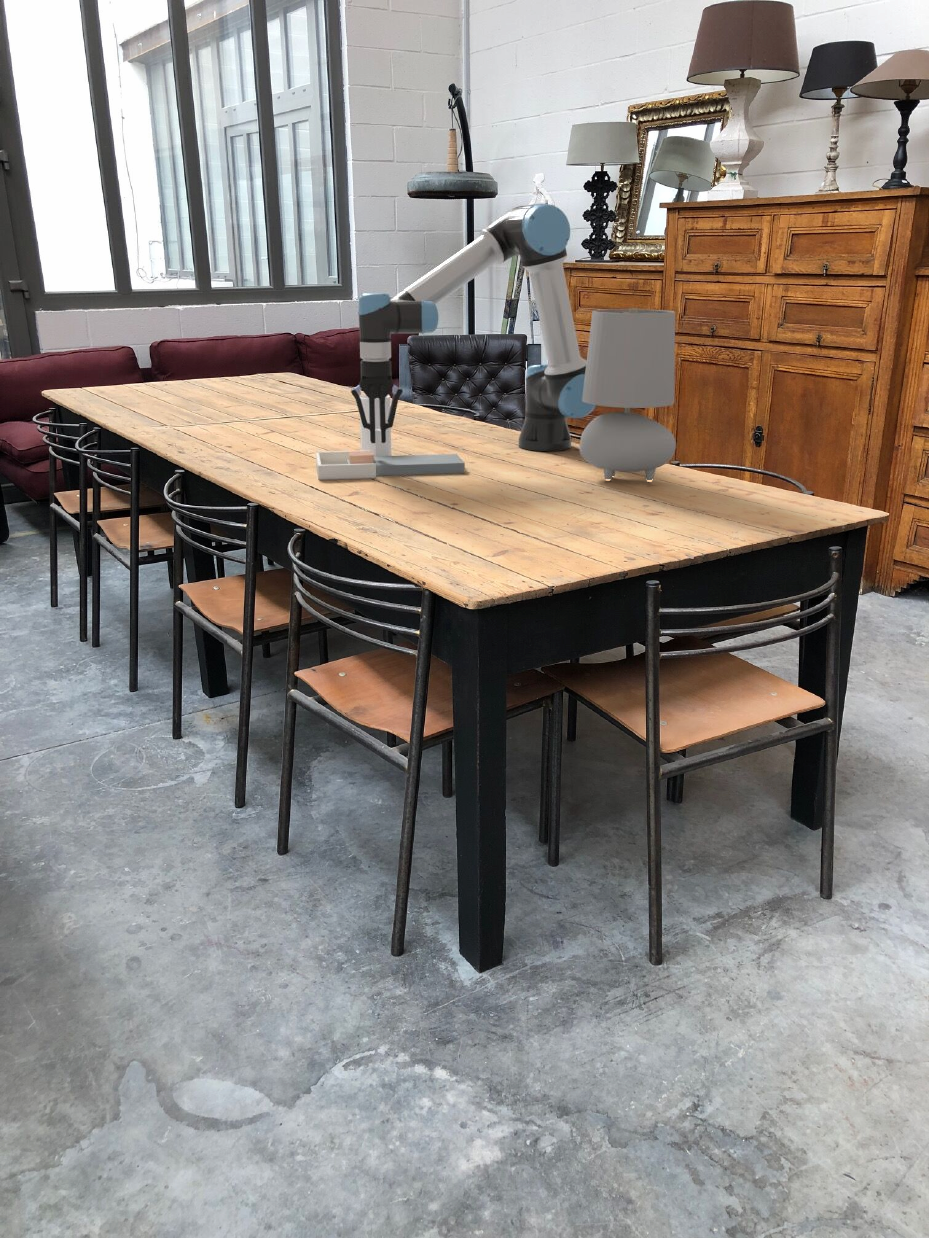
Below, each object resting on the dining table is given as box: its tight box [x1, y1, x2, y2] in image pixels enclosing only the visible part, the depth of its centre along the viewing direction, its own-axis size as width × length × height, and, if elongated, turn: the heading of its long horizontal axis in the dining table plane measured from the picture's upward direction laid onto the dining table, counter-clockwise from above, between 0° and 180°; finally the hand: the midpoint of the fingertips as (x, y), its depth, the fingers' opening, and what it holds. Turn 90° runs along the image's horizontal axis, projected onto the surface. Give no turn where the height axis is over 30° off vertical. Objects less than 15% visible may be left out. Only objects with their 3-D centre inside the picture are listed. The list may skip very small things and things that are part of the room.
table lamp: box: [579, 307, 677, 480], centre depth 228 cm, size 23×22×40 cm
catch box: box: [315, 450, 377, 481], centre depth 243 cm, size 14×18×4 cm
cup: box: [359, 394, 393, 456], centre depth 260 cm, size 8×8×16 cm
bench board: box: [374, 453, 466, 477], centre depth 246 cm, size 22×12×2 cm, turn 100°
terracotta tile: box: [347, 450, 374, 464], centre depth 243 cm, size 6×6×2 cm
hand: (378, 455), depth 243 cm, fingers closed
